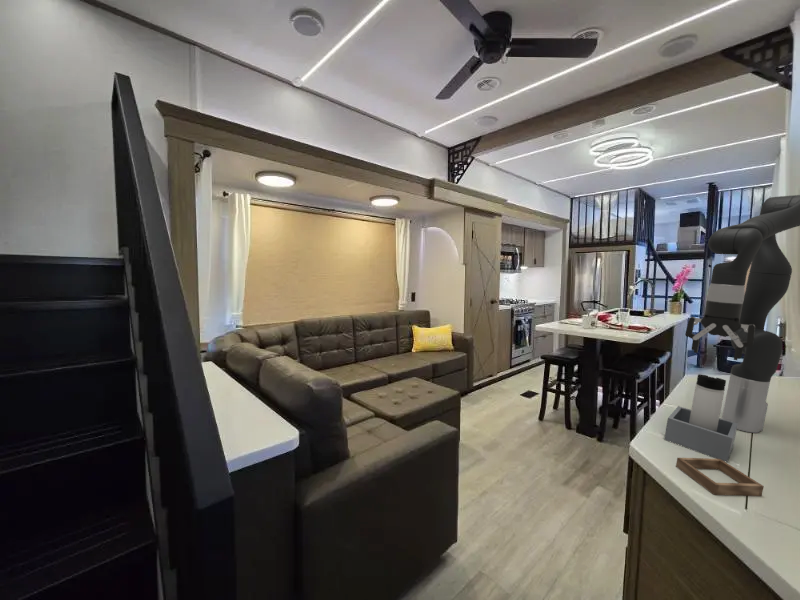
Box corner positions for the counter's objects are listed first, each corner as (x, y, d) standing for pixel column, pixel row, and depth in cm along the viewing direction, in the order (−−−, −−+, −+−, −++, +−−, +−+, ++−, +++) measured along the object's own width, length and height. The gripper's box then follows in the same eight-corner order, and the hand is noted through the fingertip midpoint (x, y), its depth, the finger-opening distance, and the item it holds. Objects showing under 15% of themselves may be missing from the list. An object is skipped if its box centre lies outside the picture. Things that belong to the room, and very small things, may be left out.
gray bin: (674, 426, 112) (678, 405, 111) (733, 445, 102) (737, 423, 101) (664, 439, 103) (667, 417, 102) (727, 462, 93) (732, 438, 92)
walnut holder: (718, 467, 90) (719, 458, 90) (761, 495, 80) (763, 486, 79) (675, 466, 90) (677, 457, 89) (713, 494, 79) (715, 484, 79)
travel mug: (685, 439, 102) (696, 375, 99) (687, 431, 107) (699, 370, 104) (713, 448, 98) (726, 381, 95) (714, 440, 103) (727, 376, 100)
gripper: (761, 303, 94) (750, 359, 96) (693, 296, 104) (685, 348, 106) (760, 304, 89) (749, 364, 91) (689, 298, 99) (681, 352, 101)
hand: (714, 355), depth 99 cm, fingers open, 8 cm apart
